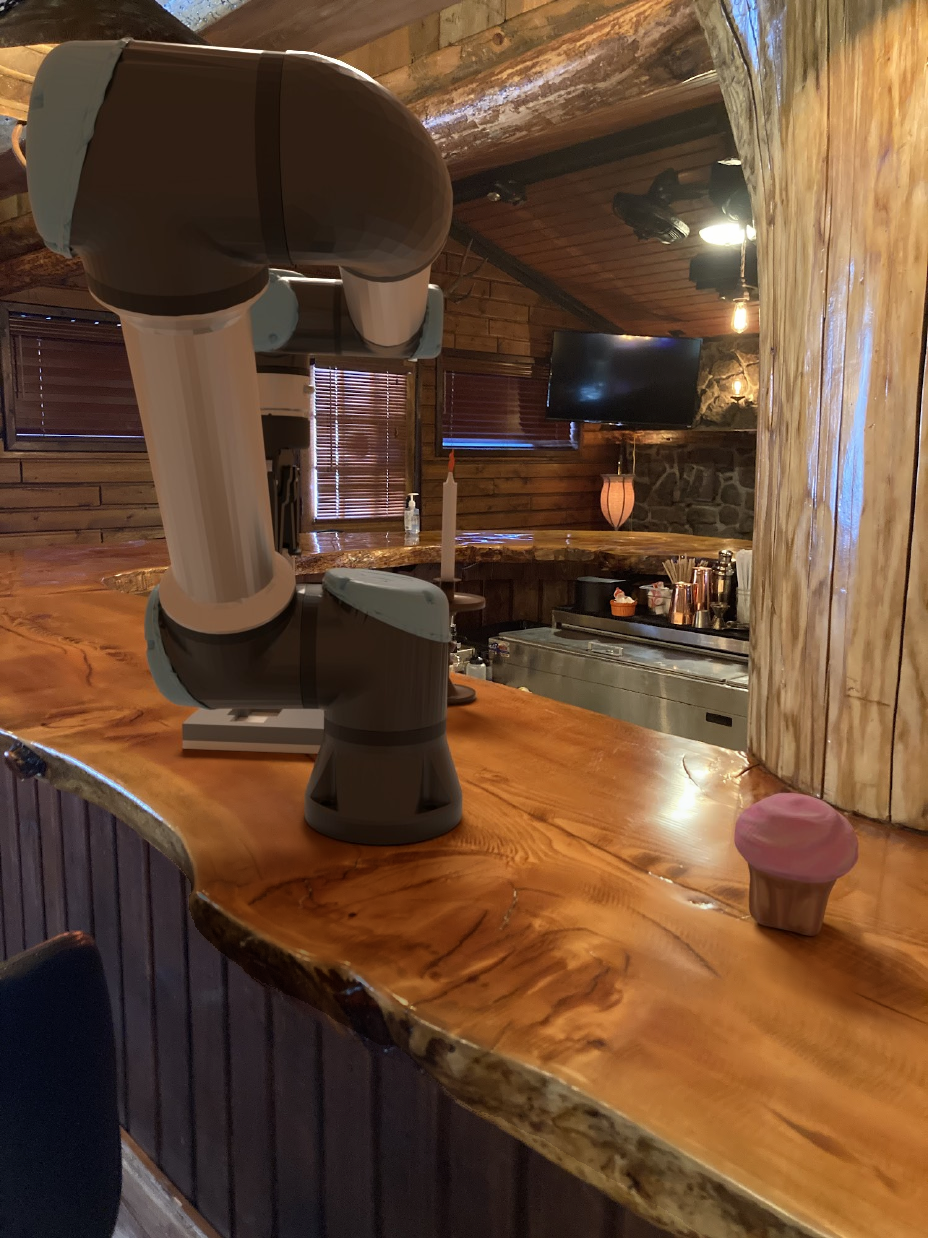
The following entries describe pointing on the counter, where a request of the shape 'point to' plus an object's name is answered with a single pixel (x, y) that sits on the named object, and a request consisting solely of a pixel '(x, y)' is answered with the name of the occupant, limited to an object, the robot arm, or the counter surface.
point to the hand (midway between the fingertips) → (278, 613)
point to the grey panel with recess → (255, 730)
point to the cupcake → (794, 859)
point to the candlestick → (447, 583)
